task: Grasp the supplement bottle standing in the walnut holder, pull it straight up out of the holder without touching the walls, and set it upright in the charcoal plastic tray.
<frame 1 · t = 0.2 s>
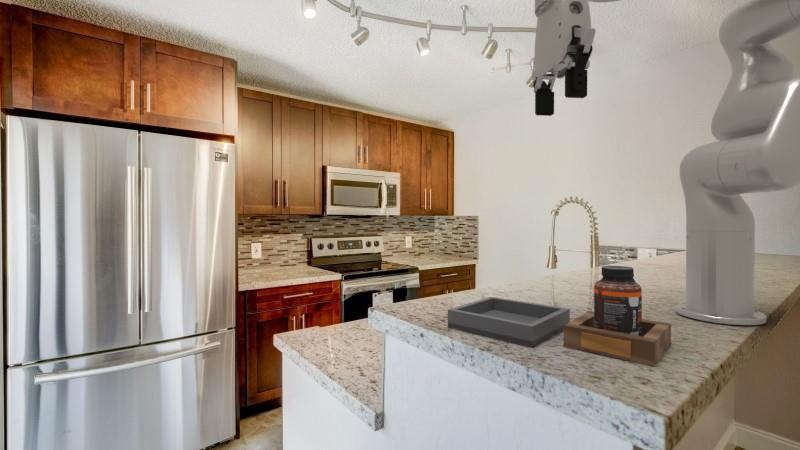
hand: (559, 106, 61), 36 cm above the counter, tool pointing down, fingers open, 9 cm apart
tray: (508, 326, 65), on the counter
holder: (617, 345, 55), on the counter
supplement bottle: (617, 346, 55), resting in holder
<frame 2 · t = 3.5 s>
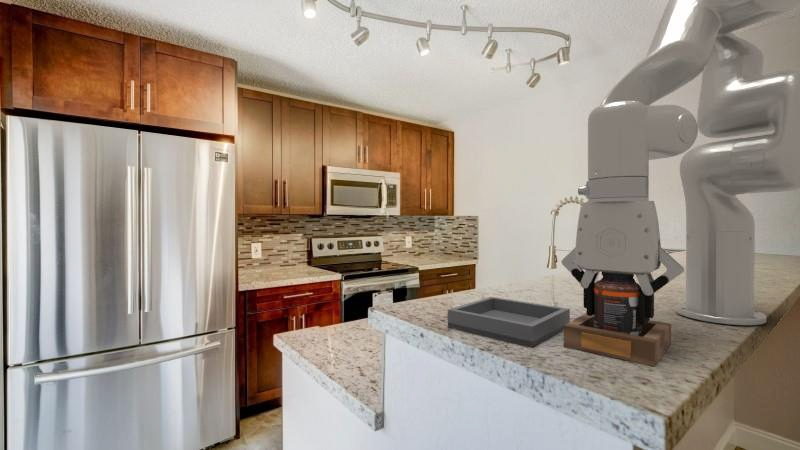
hand: (617, 316, 55), 4 cm above the counter, tool pointing down, fingers closed on supplement bottle, 6 cm apart
supplement bottle: (617, 346, 55), resting in holder, touching gripper
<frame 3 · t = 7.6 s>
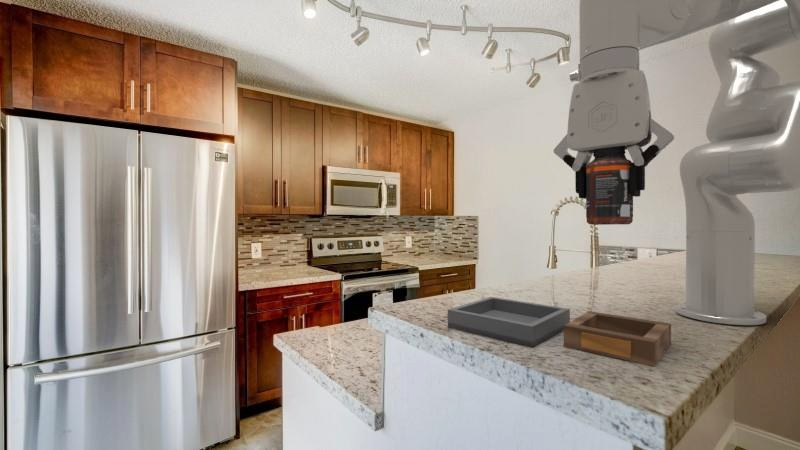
hand: (608, 196, 55), 21 cm above the counter, tool pointing down, fingers closed on supplement bottle, 6 cm apart
supplement bottle: (609, 226, 55), point 17 cm above the counter, touching gripper
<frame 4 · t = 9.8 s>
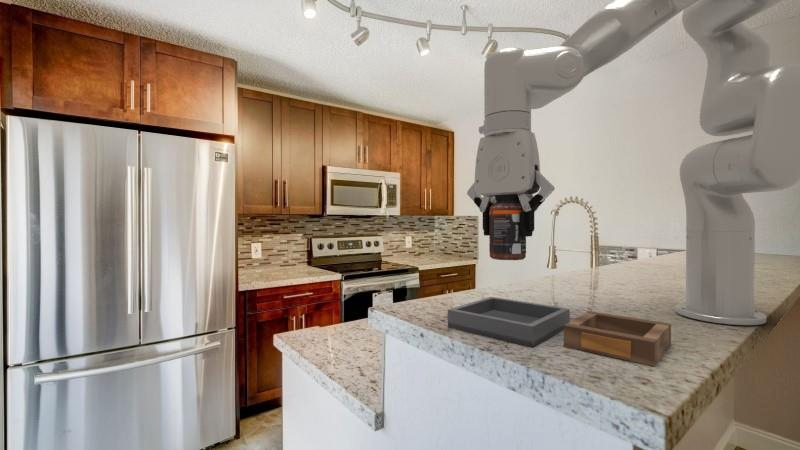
hand: (507, 234, 64), 16 cm above the counter, tool pointing down, fingers closed on supplement bottle, 6 cm apart
supplement bottle: (507, 260, 64), point 11 cm above the counter, touching gripper
when the fingers open (6 cm above the counter, at t = 11.8 s): supplement bottle drops 1 cm, resting on tray.
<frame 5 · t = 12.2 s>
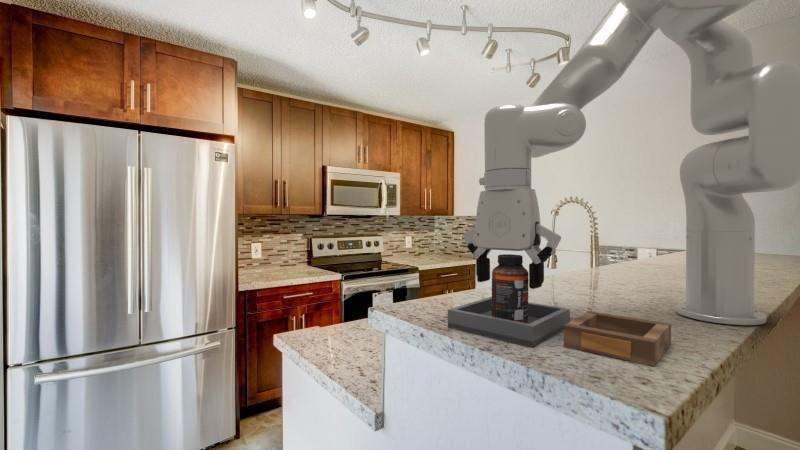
hand: (508, 284, 64), 7 cm above the counter, tool pointing down, fingers open, 9 cm apart
supplement bottle: (509, 323, 65), point 1 cm above the counter, touching tray
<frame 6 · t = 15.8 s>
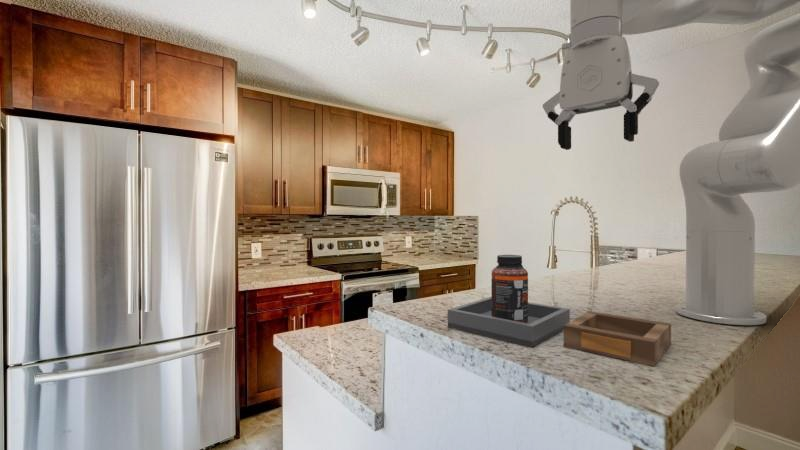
hand: (595, 144, 63), 30 cm above the counter, tool pointing down, fingers open, 9 cm apart
nothing on the counter moved.
at the end: supplement bottle inside the target area on the tray (0.1 cm from its centre), point 0.6 cm above the tray's base; supplement bottle tilted 0°; the gripper is holding nothing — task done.
